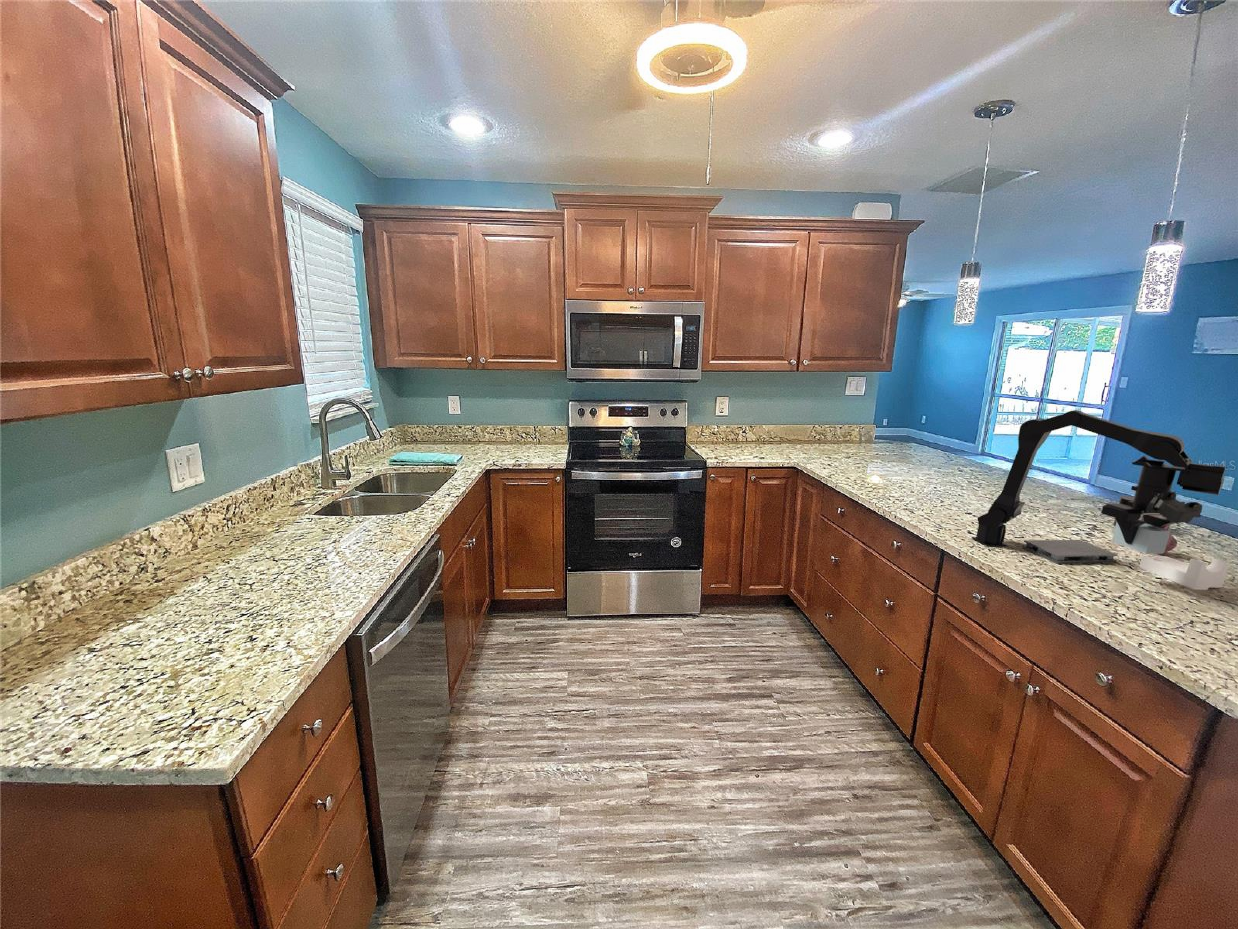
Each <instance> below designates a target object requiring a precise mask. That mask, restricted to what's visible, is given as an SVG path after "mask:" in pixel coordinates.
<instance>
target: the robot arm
mask: <svg viewBox="0 0 1238 929" xmlns="http://www.w3.org/2000/svg"><path fill="white" fill-rule="evenodd" d="M1070 426H1071V427H1075V428H1079V429H1081V430H1085V431H1088V432H1091V433H1094V434H1097V435H1100V436H1103V437H1106V438H1109V439H1112V440H1115V441H1118V442H1121V443H1123V444H1127V445H1128V446H1130V447H1131V448H1134V449H1135V450H1137V451H1138V452H1140V453H1142V454H1144V455H1142V456H1141V457H1140V458H1138V459H1135V460H1134V461H1132V462H1131V464H1132V465H1133V466H1140V467H1141V471H1140V475H1139V478H1138V480H1137V481H1138V482H1137V485H1131V487H1130V490H1131V491H1135V492H1134V496H1133V497H1134V499H1133V501H1128V502H1127V505H1129V506H1132V507H1129V506H1126V505H1122V504H1119V503H1106V504H1104V505H1102V506H1101V511H1100V513H1101V514H1102V515H1105V516H1108V517H1111V518H1114V520H1115V519H1116V521H1117V523H1118V525H1119V527H1120V529H1121V532H1122V535H1123V537H1124V540H1125V542H1126V543H1128V544H1132V542H1133V540H1134V538H1135V535H1136V533H1137V530H1138V528H1139V526H1141V525H1143V524H1145V523H1146V524H1150V525H1153V526H1156V527H1159V528H1163V529H1164V528H1165V527H1166V526H1168V525H1170V526H1171V525H1175V524H1180V523H1181V524H1183V523H1185V524H1189V523H1190V522H1191V521H1192V520H1193V519H1194V518H1200V517H1201V515H1202V514H1201V513H1202V511H1203V504H1201V503H1199V502H1197V501H1189V502H1185V501H1179V500H1178V499H1176V498H1177V492H1176V491H1174V490H1172V487H1173V484H1174V481H1175V477H1176V474H1177V471H1178V472H1179V475H1178V478H1177V481H1176V485H1179V487H1182V488H1181V489H1182V491H1189V492H1195V493H1201V494H1208V495H1209V494H1210V495H1215V496H1219V495H1220V492H1221V489H1222V486H1223V483H1224V480H1225V478H1224V475H1225V471H1226V465H1225V466H1224V465H1218V464H1215V465H1214V464H1212V465H1211V464H1205V463H1196V462H1193V461H1192V459H1191V458H1190V457H1189V455H1188V454H1187V453H1186V452H1185V450H1184V449H1185V442H1184V441H1183V439H1182V438H1181V437H1179V436H1176V435H1174V434H1170V433H1169V434H1168V433H1161V432H1156V431H1149V430H1141V429H1136V428H1133V427H1131V426H1128V425H1123V424H1120V423H1119V422H1118V423H1117V422H1114V421H1110V420H1108V419H1104V418H1101V417H1098V416H1094V415H1091V414H1090V413H1086V412H1083V411H1081V410H1079V409H1075V410H1070V411H1066V412H1065V413H1062V414H1058V415H1055V416H1052V417H1048V418H1046V419H1044V418H1033V419H1029V420H1026V421H1024V422H1022V424H1021V425H1020V427H1019V431H1018V438H1017V443H1018V449H1017V451H1016V454H1015V455H1014V456H1015V457H1014V459H1013V462H1012V465H1011V466H1010V467H1011V468H1010V470H1009V472H1008V475H1007V477H1006V479H1005V480H1006V481H1005V482H1004V485H1003V488H1002V490H1001V492H1000V494H998V497H997V498H996V499H995V500H994V501H993V502H992V504H991V506H990V507H989V509H988V511H987V513H985V514H982V515H980V516H978V517H977V521H978V527H977V532H976V536H971V539H972V540H974V541H976V542H978V543H979V544H982V545H983V546H987V547H1006V546H1008V545H1007V544H1006V543H1005V542H1004V541H1005V537H1006V531H1007V528H1006V527H1007V525H1006V524H1007V523H1008V522H1010V521H1012V520H1014V519H1016V518H1017V517H1019V516H1020V515H1022V509H1023V507H1024V506H1025V504H1026V502H1025V501H1020V500H1021V498H1020V497H1021V493H1022V492H1021V491H1023V490H1022V489H1023V488H1024V485H1025V483H1026V480H1027V478H1028V475H1029V472H1030V470H1031V467H1032V465H1033V462H1034V459H1035V457H1036V456H1037V452H1038V451H1039V449H1040V448H1041V446H1042V445H1043V444H1044V443H1045V442H1046V440H1047V439H1048V438H1049V435H1050V434H1051V433H1052V431H1057V430H1059V429H1063V428H1066V427H1070ZM1147 456H1148V457H1151V458H1153V459H1150V458H1148V457H1147ZM1166 463H1168V464H1166ZM1142 511H1143V512H1142ZM1142 516H1143V521H1142Z"/></svg>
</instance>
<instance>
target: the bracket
mask: <svg viewBox="0 0 1238 929" xmlns="http://www.w3.org/2000/svg"><path fill="white" fill-rule="evenodd" d="M1230 566H1231V562H1228V561H1225V560H1222V559H1219V558H1213V560H1212V562H1211V563H1210V564H1209V565H1207V562H1204V561H1203V560H1202V561H1201V560H1198V559H1196V558H1190V559H1189V562H1188V563H1185V562H1183V561H1179V560H1177V559H1175V558H1172V557H1169V556H1167V555H1166V556H1165V555H1164V556H1159V555H1158V556H1154V555H1153V556H1150V555H1148V556H1145V555H1144V556H1141V559H1140V562H1139V566H1138V568H1140V569H1142V570H1145V571H1148V572H1150V573H1151V574H1152V573H1153V574H1154V575H1157V576H1159V577H1162V578H1164V579H1167V580H1169V581H1171V582H1174V583H1177V584H1179V585H1182V586H1184V587H1187V588H1188V589H1190V590H1191V589H1192V590H1194V591H1195V590H1196V591H1207V590H1209V588H1223V586H1224V583H1225V580H1226V577H1227V574H1228V571H1229V569H1230V568H1229V567H1230Z"/></svg>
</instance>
